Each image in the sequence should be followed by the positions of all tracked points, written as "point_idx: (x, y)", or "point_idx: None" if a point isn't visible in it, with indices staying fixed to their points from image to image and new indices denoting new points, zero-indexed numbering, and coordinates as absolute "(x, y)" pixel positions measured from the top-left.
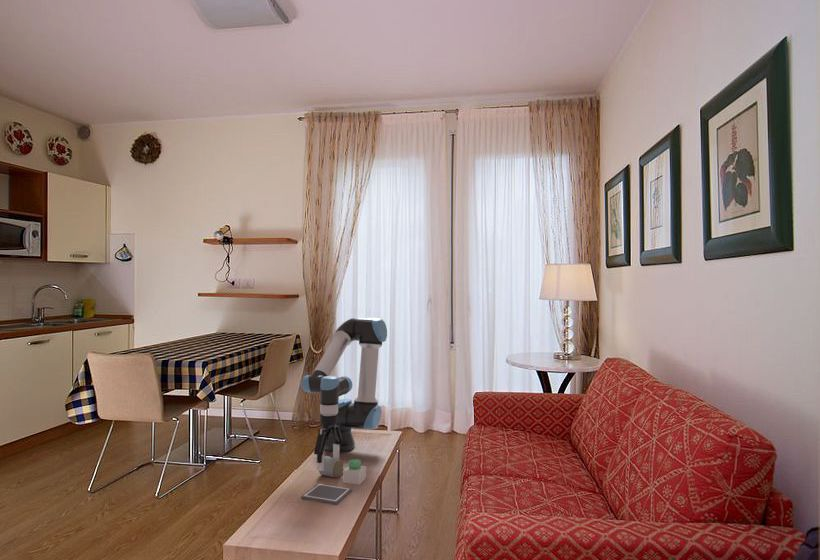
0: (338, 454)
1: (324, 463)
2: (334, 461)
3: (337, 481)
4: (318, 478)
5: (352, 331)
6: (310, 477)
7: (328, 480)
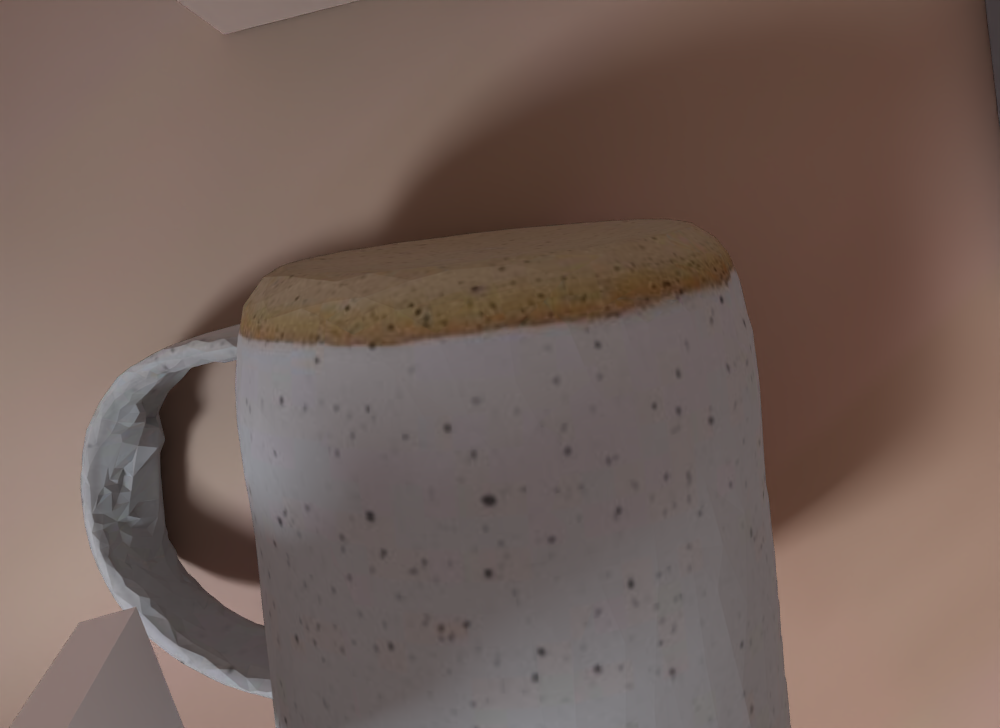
0: (76, 719)
1: (777, 632)
2: (647, 385)
3: (656, 92)
4: None
5: None
6: None
7: None
